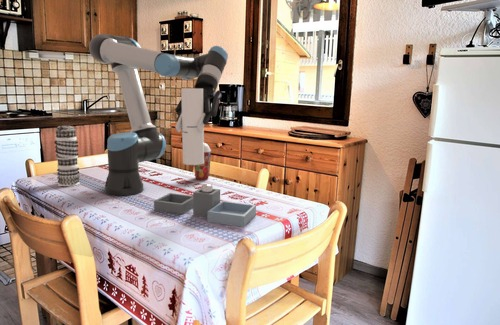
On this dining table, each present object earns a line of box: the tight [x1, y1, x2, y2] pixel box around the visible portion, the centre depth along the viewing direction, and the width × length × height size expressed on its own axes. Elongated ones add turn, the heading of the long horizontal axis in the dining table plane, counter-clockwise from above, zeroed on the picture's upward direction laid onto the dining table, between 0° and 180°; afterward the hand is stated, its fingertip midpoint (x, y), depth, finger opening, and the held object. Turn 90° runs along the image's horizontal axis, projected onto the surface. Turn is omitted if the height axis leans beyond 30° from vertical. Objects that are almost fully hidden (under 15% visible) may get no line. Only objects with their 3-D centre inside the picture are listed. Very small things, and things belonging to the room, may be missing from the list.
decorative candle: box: [53, 125, 81, 187], centre depth 164 cm, size 9×9×25 cm
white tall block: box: [180, 87, 205, 166], centre depth 130 cm, size 7×7×25 cm
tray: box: [206, 200, 257, 228], centre depth 130 cm, size 13×13×4 cm
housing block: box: [192, 187, 221, 218], centre depth 134 cm, size 7×7×8 cm
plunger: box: [201, 183, 213, 193], centre depth 133 cm, size 4×4×4 cm
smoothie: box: [193, 142, 212, 181], centre depth 181 cm, size 8×8×20 cm
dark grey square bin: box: [153, 192, 193, 215], centre depth 139 cm, size 11×11×4 cm
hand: (188, 130), depth 127 cm, fingers closed on white tall block, 7 cm apart
